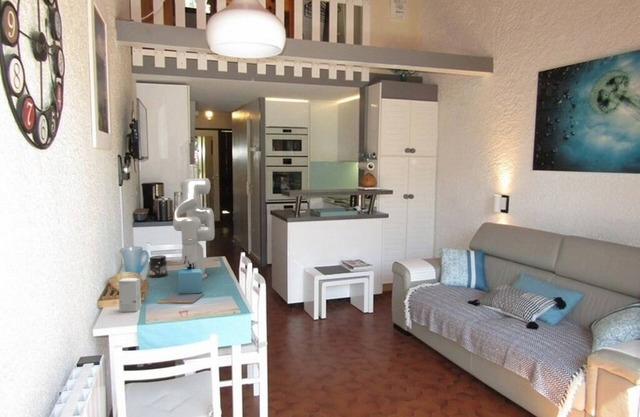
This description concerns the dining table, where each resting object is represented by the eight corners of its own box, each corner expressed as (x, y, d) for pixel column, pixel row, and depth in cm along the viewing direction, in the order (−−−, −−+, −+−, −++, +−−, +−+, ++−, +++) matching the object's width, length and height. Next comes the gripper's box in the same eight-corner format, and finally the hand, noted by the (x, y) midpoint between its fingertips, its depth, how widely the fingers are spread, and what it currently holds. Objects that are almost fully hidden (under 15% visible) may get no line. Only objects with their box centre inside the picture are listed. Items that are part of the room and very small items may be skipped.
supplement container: (147, 276, 279) (146, 257, 278) (163, 273, 286) (162, 254, 285) (153, 278, 271) (152, 259, 270) (170, 275, 278) (169, 256, 277)
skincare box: (119, 312, 209) (117, 280, 207) (125, 308, 215) (122, 277, 213) (137, 311, 209) (135, 280, 207) (142, 307, 215) (140, 277, 213)
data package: (201, 289, 241) (202, 268, 238) (201, 293, 237) (202, 272, 234) (177, 290, 237) (178, 269, 234) (177, 294, 233) (178, 272, 230)
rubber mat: (171, 294, 235) (171, 293, 235) (204, 295, 233) (203, 294, 233) (158, 302, 222) (158, 301, 222) (193, 303, 219) (193, 302, 219)
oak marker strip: (158, 302, 222) (158, 301, 221) (193, 303, 219) (193, 301, 219) (157, 303, 220) (156, 301, 220) (192, 304, 218) (192, 302, 218)
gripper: (188, 239, 245) (190, 272, 247) (176, 244, 231) (178, 279, 232) (201, 239, 245) (203, 272, 246) (190, 244, 230) (192, 279, 231)
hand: (191, 275), depth 239 cm, fingers closed
